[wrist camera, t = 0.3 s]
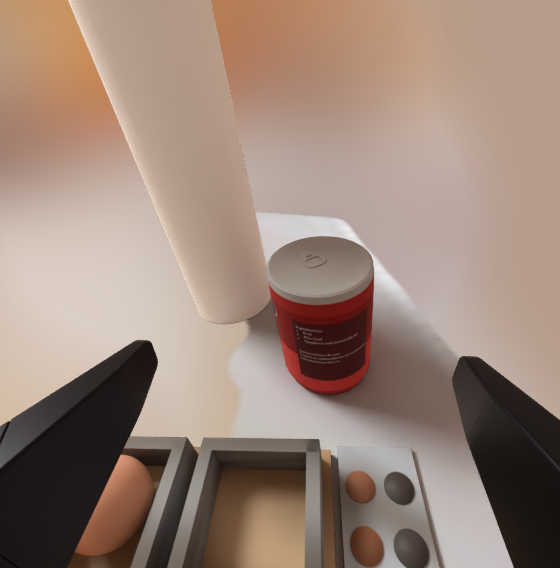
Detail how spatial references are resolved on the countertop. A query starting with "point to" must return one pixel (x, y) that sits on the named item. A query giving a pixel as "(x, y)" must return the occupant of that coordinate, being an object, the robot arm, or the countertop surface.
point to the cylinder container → (183, 142)
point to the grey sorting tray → (273, 507)
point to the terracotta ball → (118, 509)
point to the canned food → (323, 310)
